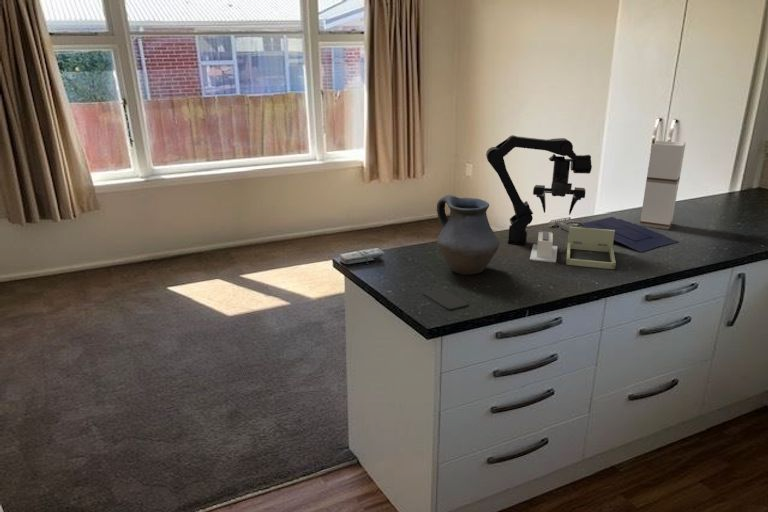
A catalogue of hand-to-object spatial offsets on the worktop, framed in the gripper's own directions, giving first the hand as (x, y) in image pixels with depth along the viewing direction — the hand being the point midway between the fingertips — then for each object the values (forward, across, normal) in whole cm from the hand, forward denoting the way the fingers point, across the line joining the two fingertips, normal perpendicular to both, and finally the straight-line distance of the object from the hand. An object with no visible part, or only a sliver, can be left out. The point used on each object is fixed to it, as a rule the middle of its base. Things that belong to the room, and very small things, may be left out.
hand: (556, 213), depth 219 cm
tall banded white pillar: (+12, +41, +41) cm, 59 cm away
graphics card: (+13, +6, +22) cm, 26 cm away
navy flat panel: (+12, +27, +17) cm, 34 cm away
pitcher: (+12, -28, -40) cm, 50 cm away
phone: (+13, -29, -67) cm, 74 cm away
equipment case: (+12, +13, -14) cm, 22 cm away
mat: (+12, -3, -14) cm, 19 cm away
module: (+12, -3, -14) cm, 18 cm away
